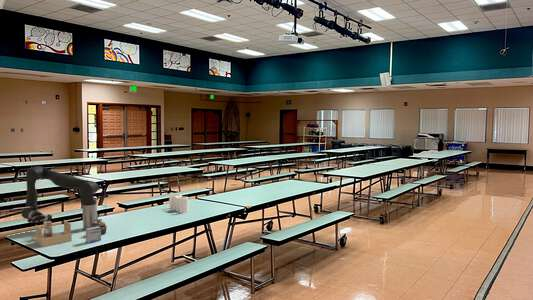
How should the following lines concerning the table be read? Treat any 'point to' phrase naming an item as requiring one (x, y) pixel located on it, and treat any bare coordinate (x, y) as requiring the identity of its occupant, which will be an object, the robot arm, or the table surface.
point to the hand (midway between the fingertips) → (42, 220)
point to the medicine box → (93, 234)
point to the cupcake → (100, 225)
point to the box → (47, 229)
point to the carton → (53, 236)
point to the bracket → (178, 203)
